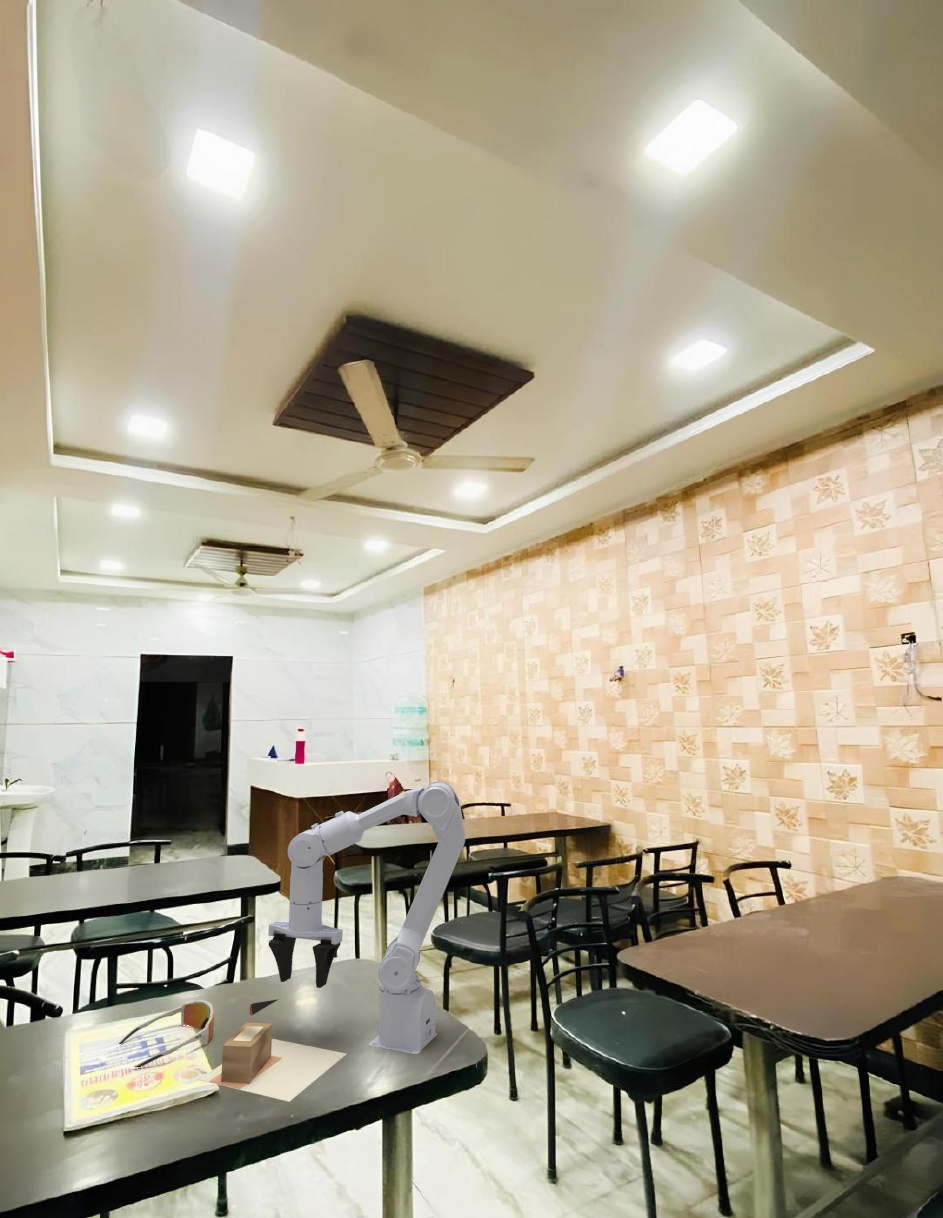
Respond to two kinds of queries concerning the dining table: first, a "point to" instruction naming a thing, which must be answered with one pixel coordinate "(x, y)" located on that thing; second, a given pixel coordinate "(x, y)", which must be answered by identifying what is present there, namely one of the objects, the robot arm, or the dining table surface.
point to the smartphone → (260, 1006)
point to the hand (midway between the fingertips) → (303, 982)
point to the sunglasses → (191, 1015)
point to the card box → (246, 1052)
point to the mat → (284, 1070)
